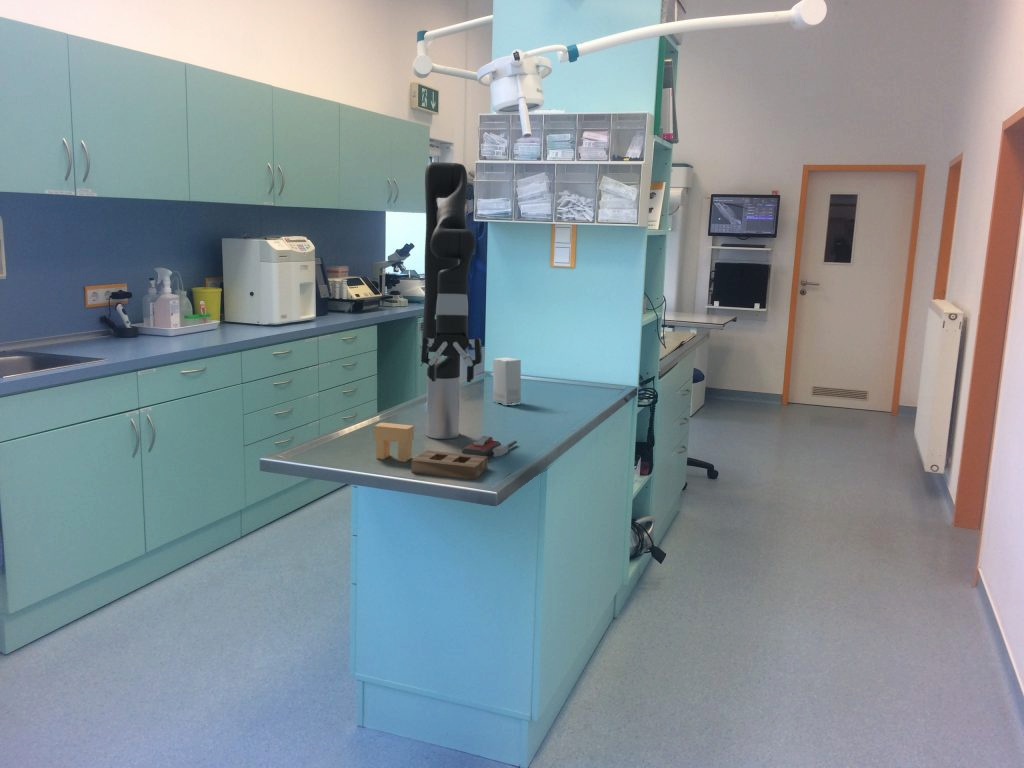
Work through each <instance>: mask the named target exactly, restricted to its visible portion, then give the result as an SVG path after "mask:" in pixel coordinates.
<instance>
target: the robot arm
mask: <svg viewBox="0 0 1024 768" xmlns="http://www.w3.org/2000/svg"><path fill="white" fill-rule="evenodd" d="M424 191H425V192H424V194H425V196H424V197H425V240H424V242H425V243H424V244H425V245H424V303H423V318H422V319H423V320H422V333H421V339H422V340H421V342H422V346H421V357H420V358H421V360H420V361H421V363H422V364H426V365H428V366H427V367H426V369H427V370H426V436H427V437H428V438H430V439H431V438H432V439H439V440H440V439H441V440H447V439H454V438H458V437H459V435H460V392H461V391H460V389H461V387H460V386H461V385H460V384H461V382H460V380H461V358H462V359H463V360H464V361H465V363H466V364H467V366H466V382H467V383H472V381H473V380H474V378H475V366H476V365H479V364H481V363H482V362H483V356H482V354H483V353H482V340H481V339H480V338H475V339H474V338H473V339H469V335H468V333H469V332H468V331H469V327H468V326H469V301H468V278H469V277H468V276H469V270H470V265H471V262H472V259H473V255H474V252H475V248H476V238H475V235H474V233H473V232H472V231H471V230H470V229H466V228H467V222H466V214H465V213H466V211H465V210H466V204H467V194H468V173H467V169H466V167H465V166H464V164H462V163H457V162H440V161H430V162H427V164H426V167H425V170H424ZM437 199H444V200H443V201H442V202H441V203H440V205H438V201H437ZM469 345H471V347H472V349H474V358H475V359H472V357H471V355H470V354H469V353H468V351H467V350H466V349H467V348H468V346H469ZM430 353H433V356H432V357H431V358H429V356H430V355H429V354H430ZM442 356H444V357H445V358H443V359H441V358H442ZM440 359H441V360H440Z"/></svg>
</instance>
